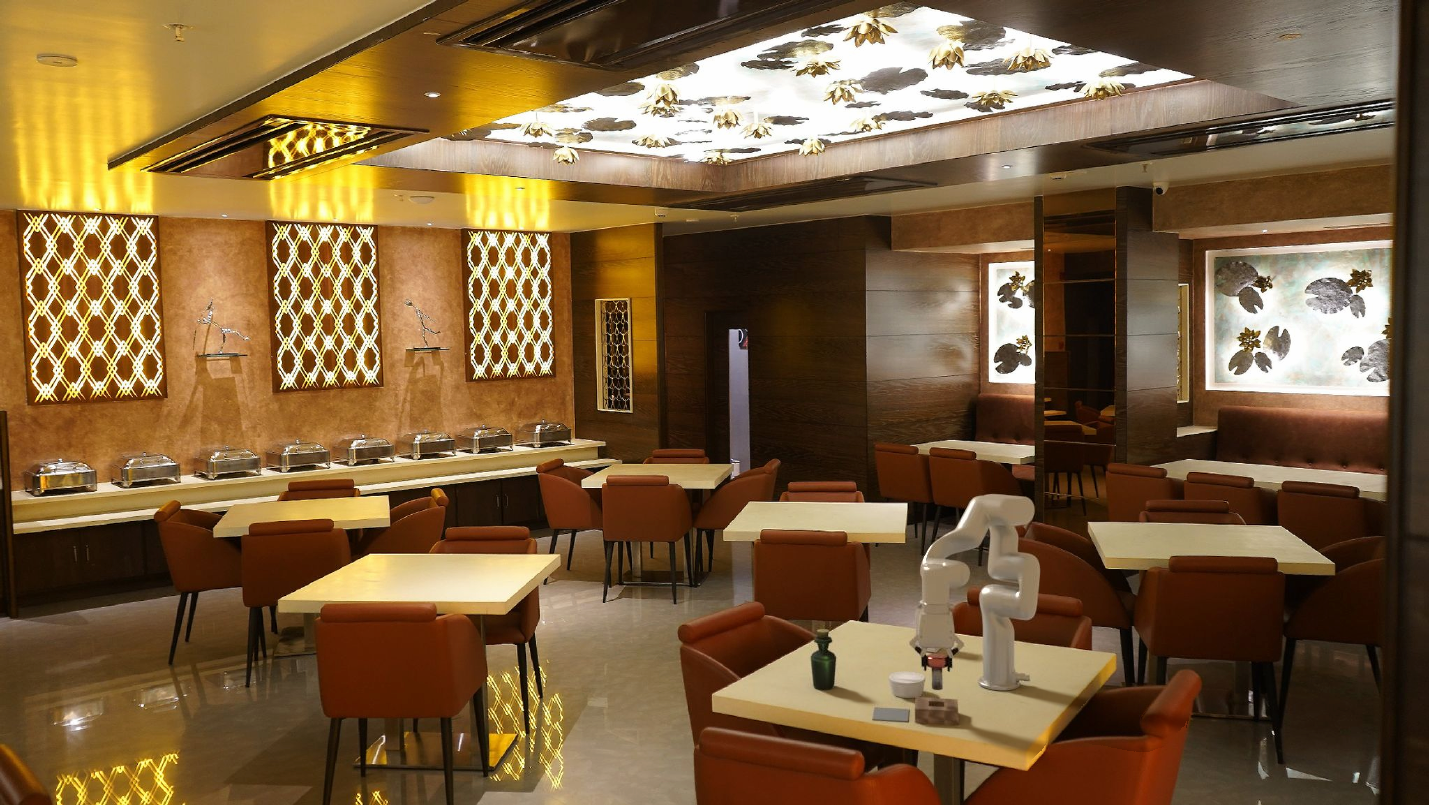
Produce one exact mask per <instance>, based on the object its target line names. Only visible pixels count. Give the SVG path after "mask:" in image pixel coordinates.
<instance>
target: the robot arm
mask: <svg viewBox="0 0 1429 805" xmlns="http://www.w3.org/2000/svg"><path fill="white" fill-rule="evenodd" d="M1034 515H1035V505H1034V502H1033V500H1031V499H1030V498H1029V497H1027V496H1019V495H1007V494H997V493H990V494H984V495H978V496H975V497H972V499H971V500H970V501H969V502H968V505H967V507H966V509H965V511H964V512H963V514H962V516H961V518H960V519H959V521H958V524H957V525H956V527H955V529H953V530H952V531H949V532H948V533H946V534H944V535H942V536H941V537H939V539H937V540H935V541H934V542H933V543H932V544H931V545H930V547H929V548H928V550H927V551H926V553H925V555H924V557H923V559H922V561H921V564H920V570H919V574H920V577H921V595H922V596H921V598H922V599H921V600H922V606H923V610H922V611H920V615H919V627H918V634H917V635H916V634H915V636H913V637H912V638H911V640H909V643H908V644H909V646H910V647H911V648H912V649H913V650H914V651H915V652H916V653H917V654H919V656H920V659H921V662H920V663H921V668H923V671H925V672H926V671H927V667H928V666H926V656H927V654H926V652H927V651H926V650H927V648H941V649H945V651H946V653H947V655H946V656H947V667H946V668H947V669H946V670H947V672H949V673H950V672H951V669H953V658H954V656H955V655H957V654H958V653H959V651H961V650H962V649H963V647H965V643H964V642H963V641H962V640H961V639H960V637H958V636H957V635H956V634H955V625H954V624H955V623H954V622H955V621H954V616H953V612H952V611H951V610H955V604H952V603H951V602H950V588H951V589H952V588H960V587H961V588H962V587H963V586H964V585H966V584H967V583H968V581H969V579H970V577H971V571H970V567H969V566H968V564H966V563H965V562H963V561H960V560H954V559H946V558H948V557H949V556H951V555H954V554H958V553H961V552H966V551H969V550H972V549H975V548H978V547H979V546H980V545H981V544H982V542H983V540H984V538H985V537H986V534H987V532H988V531H989V534H990V539H989V550H988V559H987V573H988V575H989V577H991V579H994V580H997V581H1001V582H1002V581H1003V582H1008V583H1013V584H1015V583H1016V584H1018V585H1019V587H1015V586H1010V585H1005V584H1004V585H1002V584H995V583H994V584H987V585H985V586H983V587H982V588H981V590H980V592H979V596H978V597H979V598H978V601H979V607H980V611H981V612H980V613H981V617H982V673H983V674H982V675H981V677H978V679H977V684H978V685H979V686H980V687H983V688H985V689H989V690H994V691H1012V690H1016V689H1018V688H1020V681H1021V682H1022V681H1023V682H1031V677H1030V674H1026V673H1025V672H1023V673H1018V672H1017V671H1016V668H1015V629H1014V625H1013V623H1012V621H1011V619H1016V620H1022V621H1023V620H1024V621H1029V620H1031V619H1032V618H1034V617H1035V614H1036V612H1037V605H1038V598H1039V588H1040V578H1041V577H1040V575H1041V568H1040V567H1041V566H1040V562H1039V560H1038V558H1037V557H1036V556H1035V555H1033V554H1031V553H1027V552H1019V550H1018V548H1019V534H1018V531H1017V529H1016V526H1023V525H1024V526H1025V525H1027V524H1029V523H1030V522H1032V520H1033V518H1034ZM917 641H919V645H920V646H921V647H922V649H921V648H920V647H919V646H918V645H917V644H916V642H917ZM955 643H956V644H957V645H956V646H955ZM953 647H954V648H953Z"/></svg>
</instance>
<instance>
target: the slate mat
mask: <svg viewBox="0 0 1429 805" xmlns="http://www.w3.org/2000/svg"><path fill="white" fill-rule="evenodd" d="M873 708H874V709H873V713H872V714H873V715H872V719H871V720H872V721H880V722H881V721H883V722H884V721H885V722H898V723H899V722H902V723H908V722H909V714H910V709H909V708H893V707H880V706H879V707H875V706H874V707H873Z"/></svg>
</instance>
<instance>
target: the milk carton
mask: <svg viewBox="0 0 1429 805" xmlns="http://www.w3.org/2000/svg"><path fill="white" fill-rule="evenodd" d="M918 602H919V605H918V606H916V607H915V636H916V635H917V634H918V627H919V615H920V611H922V610H923V606H922V599H921V600H920V601H918ZM916 644H917V645H918V646H919V647H920V648H921V649H922V647H921V646H920V645H919V641H917V642H916ZM941 649H942V648H927V650H926V652H930V653H937V652H938V651H939V650H941Z"/></svg>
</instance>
